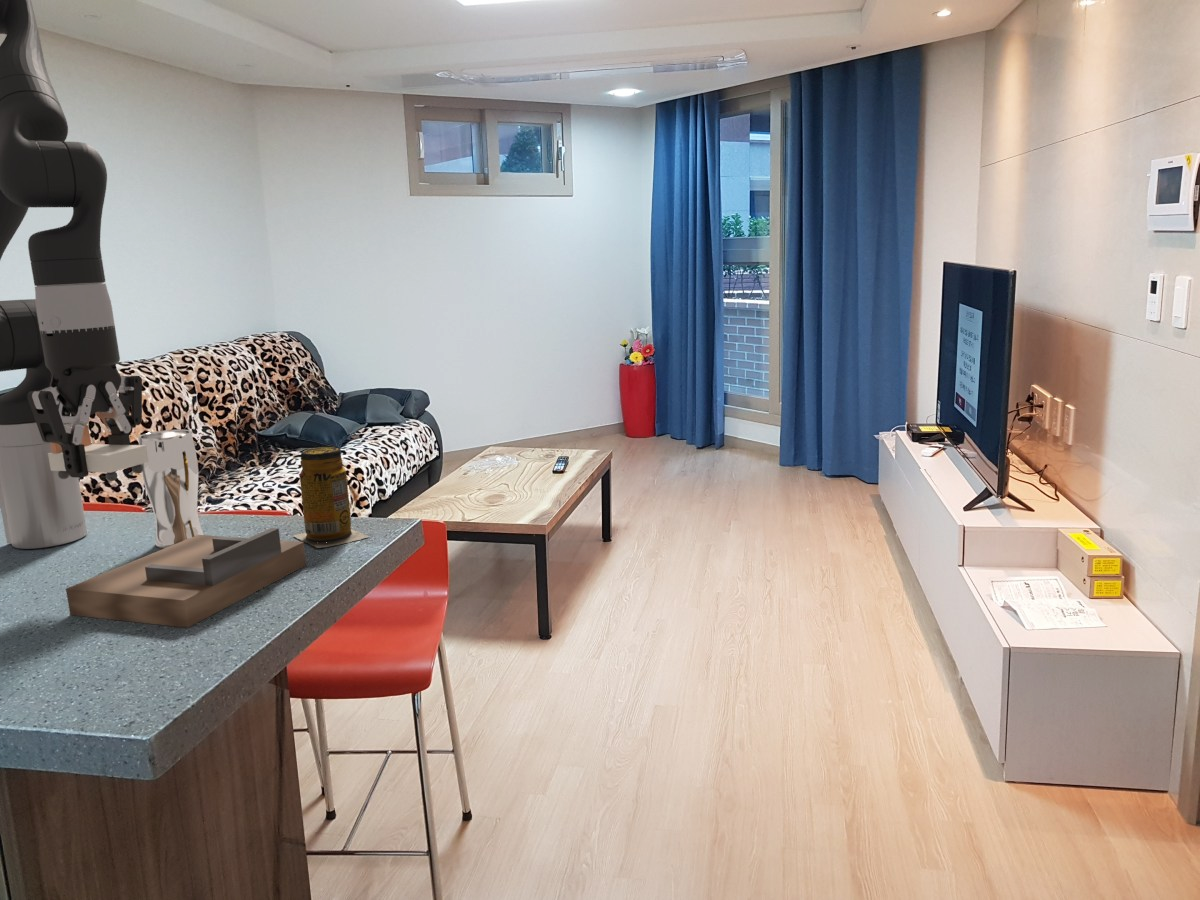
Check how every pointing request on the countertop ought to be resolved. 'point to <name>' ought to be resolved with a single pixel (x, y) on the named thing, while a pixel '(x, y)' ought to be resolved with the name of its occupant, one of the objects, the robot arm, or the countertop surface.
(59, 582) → the countertop surface
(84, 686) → the countertop surface
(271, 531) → the dock
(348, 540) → the condiment
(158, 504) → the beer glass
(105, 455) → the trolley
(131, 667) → the countertop surface
